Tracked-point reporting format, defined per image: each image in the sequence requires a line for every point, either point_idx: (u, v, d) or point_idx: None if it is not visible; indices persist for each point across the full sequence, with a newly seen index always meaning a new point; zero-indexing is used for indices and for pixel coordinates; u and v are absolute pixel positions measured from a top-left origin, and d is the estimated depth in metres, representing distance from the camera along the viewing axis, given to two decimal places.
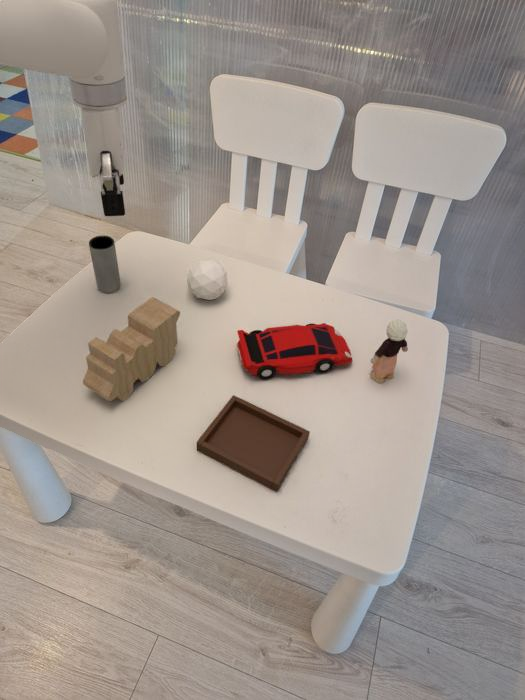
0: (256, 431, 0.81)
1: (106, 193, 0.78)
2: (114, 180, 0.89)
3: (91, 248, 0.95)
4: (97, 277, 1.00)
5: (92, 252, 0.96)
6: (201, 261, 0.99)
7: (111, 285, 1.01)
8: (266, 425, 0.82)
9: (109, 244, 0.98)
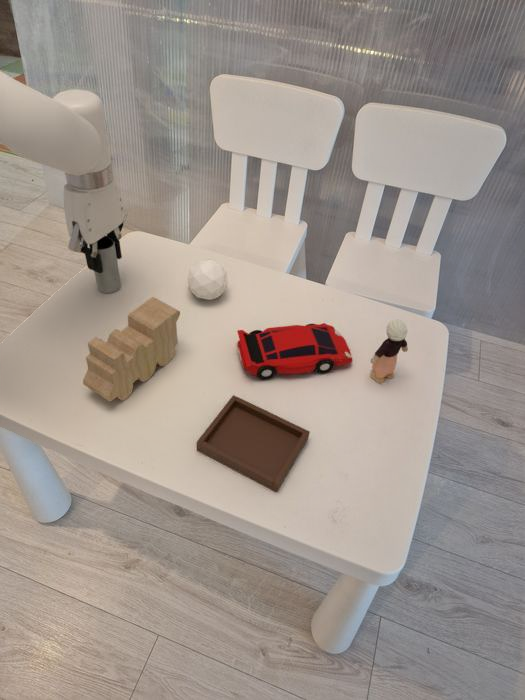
0: (256, 431, 0.81)
1: None
2: None
3: None
4: (97, 277, 1.00)
5: None
6: (201, 261, 0.99)
7: (111, 285, 1.01)
8: (266, 425, 0.82)
9: (109, 244, 0.98)
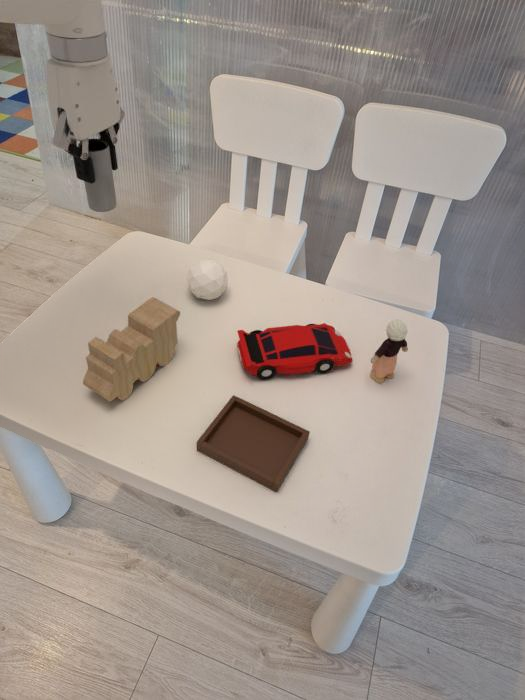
0: (256, 431, 0.81)
1: (70, 154, 0.77)
2: None
3: None
4: (88, 191, 0.83)
5: None
6: (201, 261, 0.99)
7: (105, 202, 0.85)
8: (266, 425, 0.82)
9: None
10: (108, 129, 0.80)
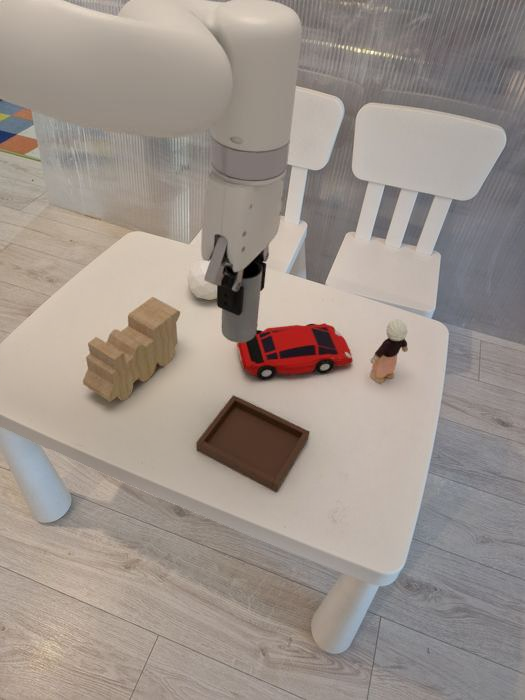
0: (256, 431, 0.81)
1: None
2: None
3: None
4: (228, 319, 0.64)
5: None
6: (201, 261, 0.99)
7: (247, 331, 0.65)
8: (266, 425, 0.82)
9: (250, 269, 0.63)
10: None
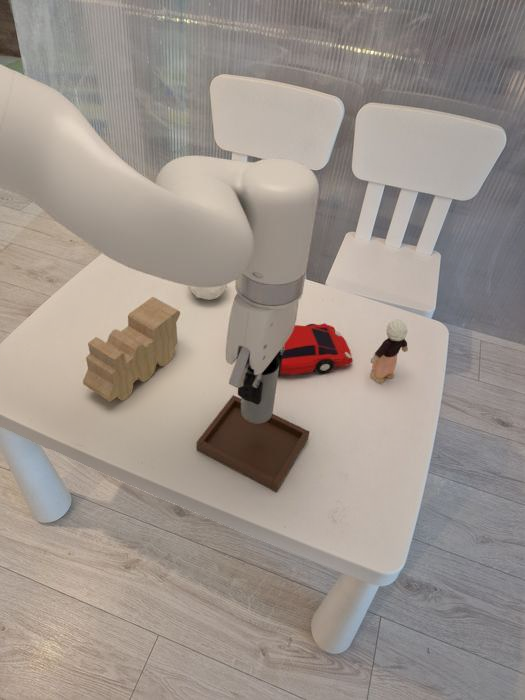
0: (256, 431, 0.81)
1: None
2: None
3: (249, 372, 0.66)
4: (247, 405, 0.70)
5: None
6: None
7: (265, 415, 0.71)
8: (266, 425, 0.82)
9: None
10: None
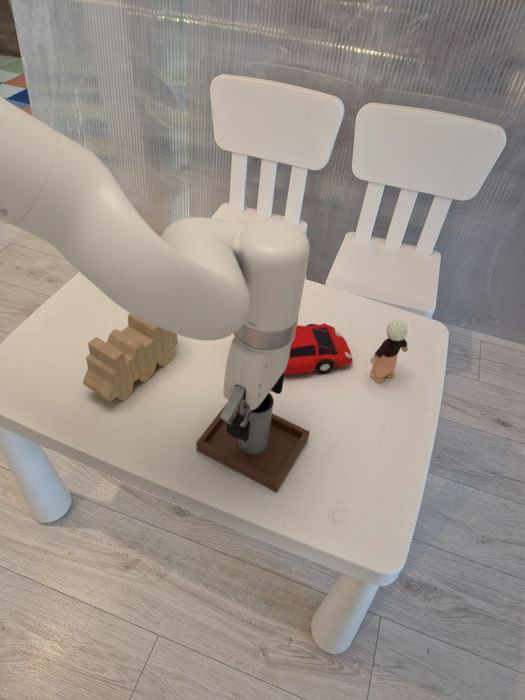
0: None
1: None
2: (271, 387, 0.76)
3: None
4: None
5: None
6: None
7: (260, 447, 0.77)
8: None
9: None
10: None
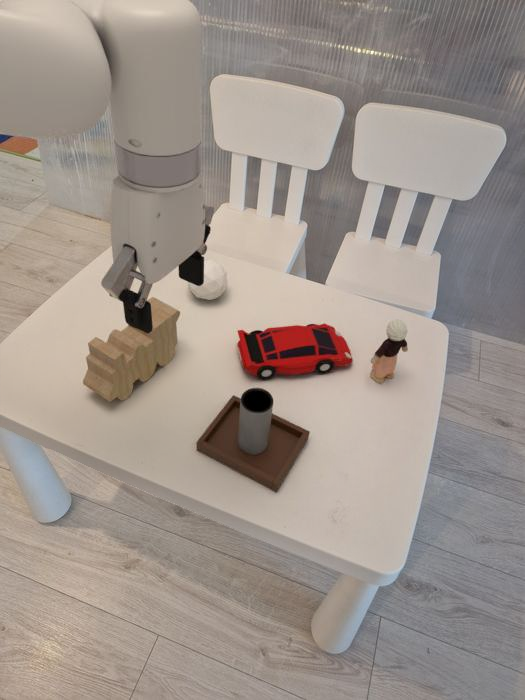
0: None
1: None
2: (189, 277, 0.61)
3: (245, 410, 0.71)
4: (244, 438, 0.76)
5: (246, 414, 0.72)
6: None
7: (260, 447, 0.77)
8: None
9: (263, 398, 0.74)
10: None
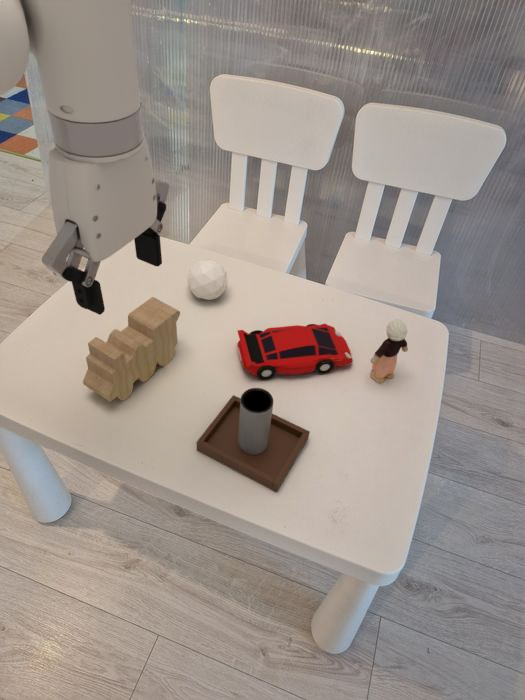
0: None
1: None
2: (147, 257, 0.59)
3: (245, 410, 0.71)
4: (244, 438, 0.76)
5: (246, 414, 0.72)
6: (201, 261, 0.99)
7: (260, 447, 0.77)
8: None
9: (263, 398, 0.74)
10: None
